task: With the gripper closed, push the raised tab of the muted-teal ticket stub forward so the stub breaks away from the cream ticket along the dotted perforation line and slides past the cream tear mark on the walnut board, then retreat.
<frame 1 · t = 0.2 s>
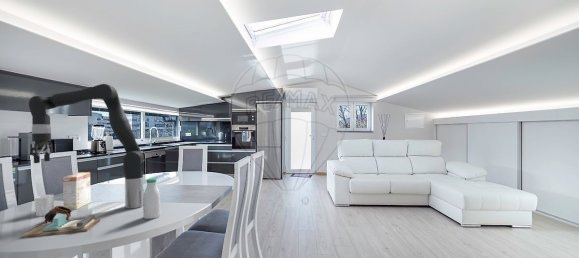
hand: (42, 162, 138), 29 cm above the table, fingers open, 8 cm apart
stub: (56, 221, 116), point 4 cm above the table, slide at 0.0 cm
white cup: (44, 214, 138), on the table
coffeecake box: (77, 206, 153), on the table
milk bottle: (152, 217, 132), on the table
pottery mug: (56, 221, 128), on the table
ticket holder: (66, 228, 117), on the table
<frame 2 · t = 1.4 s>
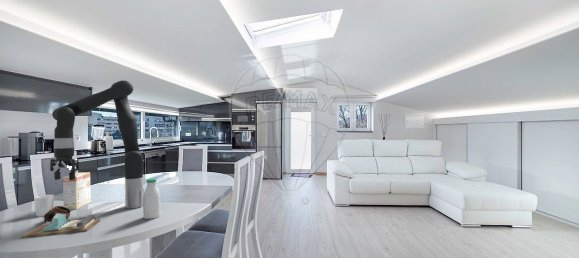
hand: (64, 179, 125), 22 cm above the table, fingers open, 8 cm apart
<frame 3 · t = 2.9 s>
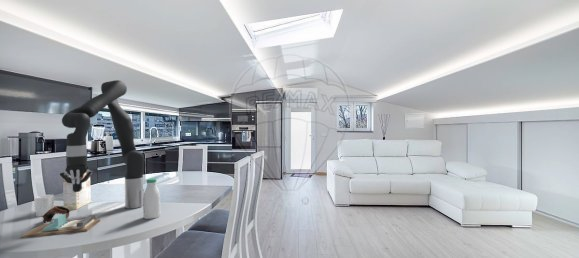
hand: (77, 191, 118), 17 cm above the table, fingers closed
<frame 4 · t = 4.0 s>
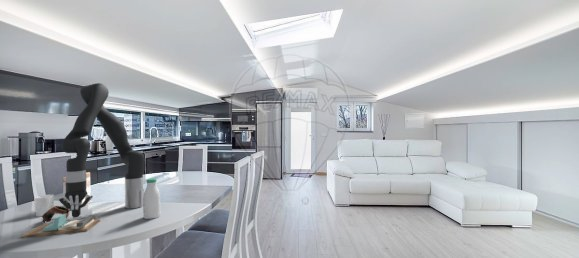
hand: (76, 217, 118), 5 cm above the table, fingers closed
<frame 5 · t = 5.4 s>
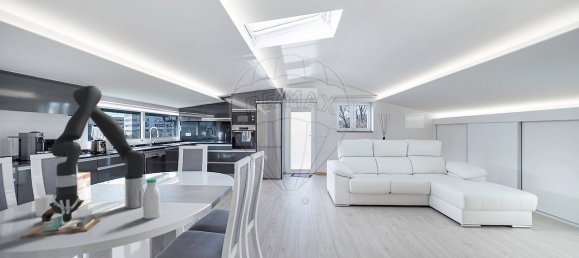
hand: (67, 221, 117), 3 cm above the table, fingers closed
stub: (55, 221, 116), point 4 cm above the table, slide at 0.1 cm, touching gripper
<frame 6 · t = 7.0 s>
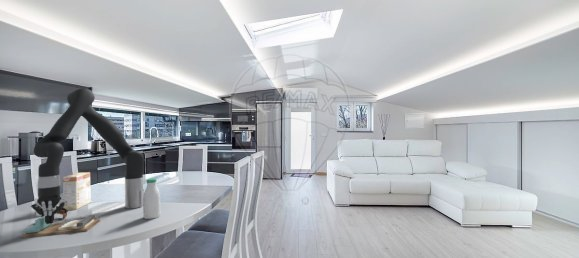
hand: (49, 223, 115), 3 cm above the table, fingers closed
stub: (38, 223, 114), point 4 cm above the table, slide at 6.8 cm, touching gripper
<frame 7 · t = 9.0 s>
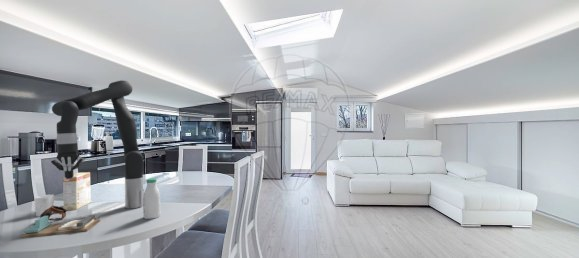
hand: (69, 178, 121), 23 cm above the table, fingers closed
stub: (37, 223, 114), point 4 cm above the table, slide at 6.8 cm
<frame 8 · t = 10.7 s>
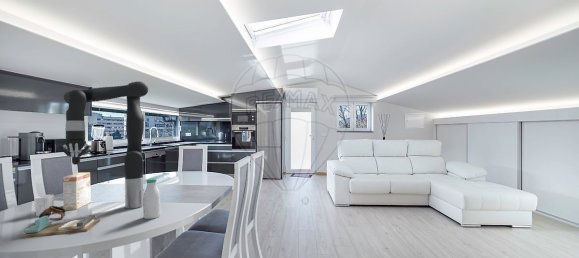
hand: (76, 164, 126), 29 cm above the table, fingers closed
at the end: stub slide at 6.8 cm; the gripper is holding nothing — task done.
